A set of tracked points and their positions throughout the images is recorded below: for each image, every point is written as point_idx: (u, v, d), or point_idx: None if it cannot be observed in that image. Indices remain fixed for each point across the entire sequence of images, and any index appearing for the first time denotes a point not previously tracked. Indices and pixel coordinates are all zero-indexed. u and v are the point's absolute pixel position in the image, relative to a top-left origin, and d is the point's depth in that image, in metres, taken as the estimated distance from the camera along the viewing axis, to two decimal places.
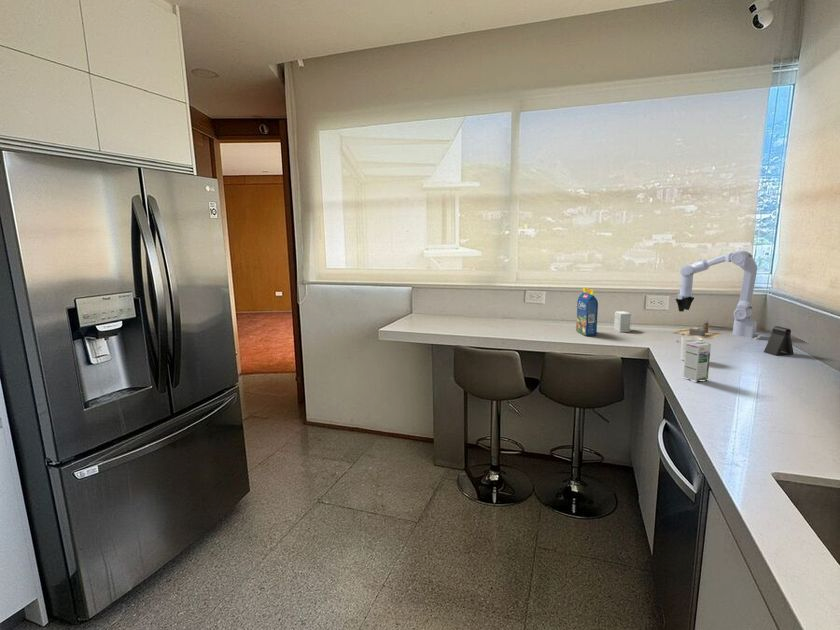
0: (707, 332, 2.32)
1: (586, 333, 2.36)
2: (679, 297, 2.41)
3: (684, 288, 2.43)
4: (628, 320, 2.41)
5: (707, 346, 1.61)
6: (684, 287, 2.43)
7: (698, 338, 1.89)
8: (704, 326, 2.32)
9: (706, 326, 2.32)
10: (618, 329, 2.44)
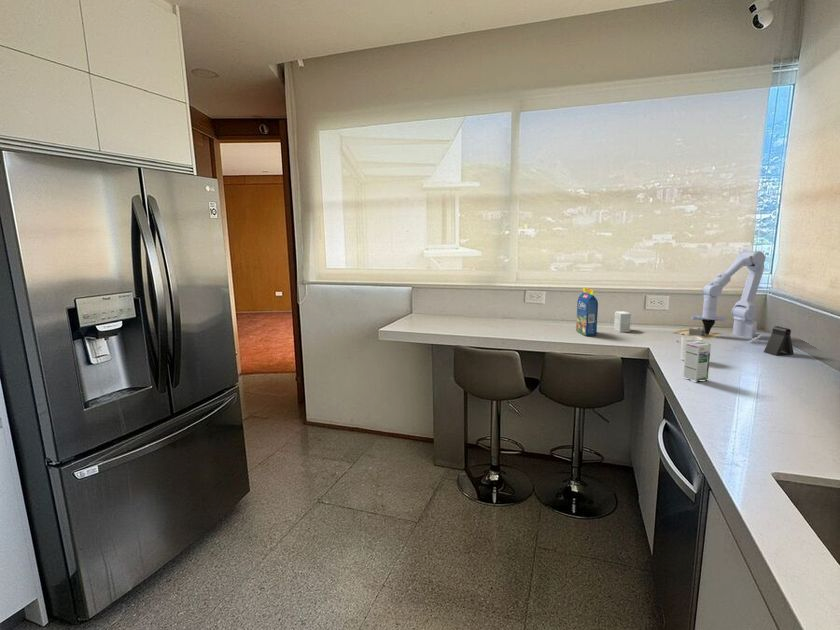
0: None
1: (586, 333, 2.36)
2: (692, 317, 2.27)
3: (703, 309, 2.24)
4: (628, 320, 2.41)
5: (707, 346, 1.61)
6: (703, 308, 2.24)
7: (698, 338, 1.89)
8: None
9: None
10: (618, 329, 2.44)
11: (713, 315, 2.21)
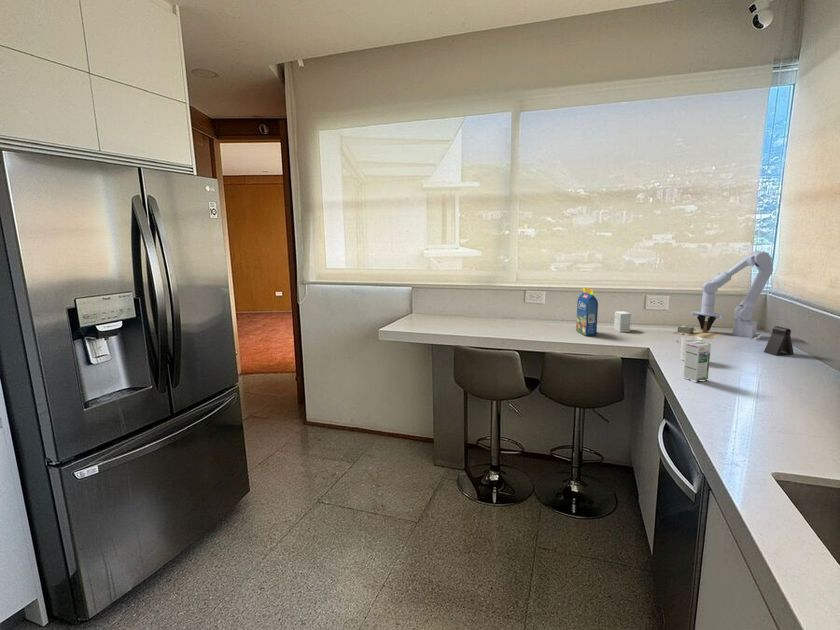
0: (707, 332, 2.32)
1: (586, 333, 2.36)
2: None
3: None
4: (628, 320, 2.41)
5: (707, 346, 1.61)
6: None
7: (698, 338, 1.89)
8: (704, 326, 2.32)
9: (706, 326, 2.32)
10: (618, 329, 2.44)
11: (709, 311, 2.29)
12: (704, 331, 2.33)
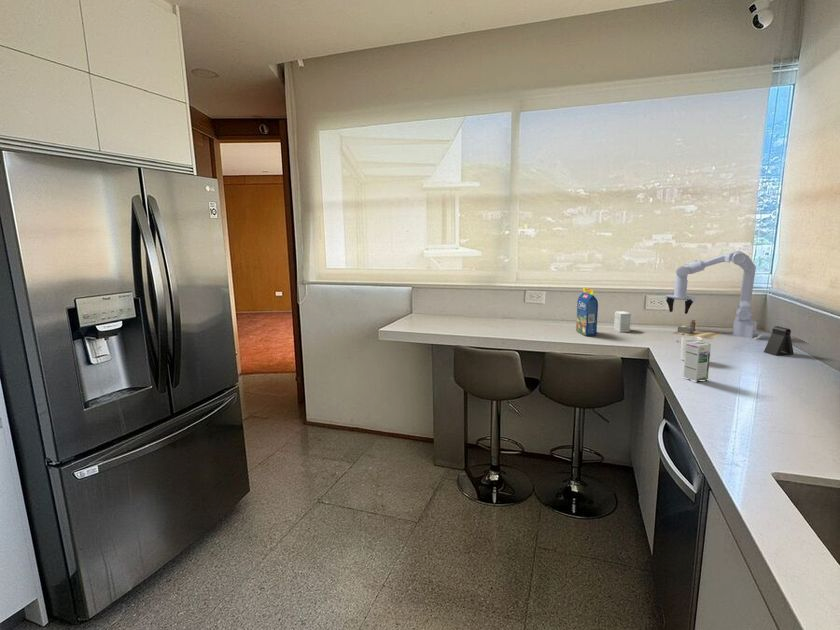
0: (694, 330, 2.36)
1: (586, 333, 2.36)
2: None
3: None
4: (628, 320, 2.41)
5: (707, 346, 1.61)
6: None
7: (698, 338, 1.89)
8: (691, 325, 2.36)
9: (693, 325, 2.36)
10: (618, 329, 2.44)
11: (681, 294, 2.36)
12: None
